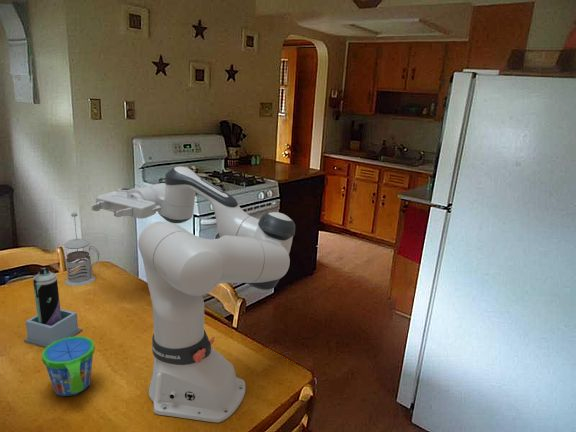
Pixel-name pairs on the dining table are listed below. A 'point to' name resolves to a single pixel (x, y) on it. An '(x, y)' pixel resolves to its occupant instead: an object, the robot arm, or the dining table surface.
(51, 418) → the dining table surface
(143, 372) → the dining table surface
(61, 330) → the collar stand
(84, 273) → the french press
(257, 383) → the dining table surface
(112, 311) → the dining table surface
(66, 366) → the snack cup
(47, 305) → the spray can
